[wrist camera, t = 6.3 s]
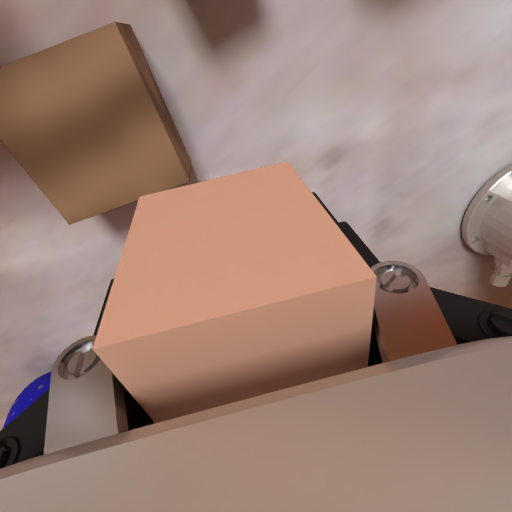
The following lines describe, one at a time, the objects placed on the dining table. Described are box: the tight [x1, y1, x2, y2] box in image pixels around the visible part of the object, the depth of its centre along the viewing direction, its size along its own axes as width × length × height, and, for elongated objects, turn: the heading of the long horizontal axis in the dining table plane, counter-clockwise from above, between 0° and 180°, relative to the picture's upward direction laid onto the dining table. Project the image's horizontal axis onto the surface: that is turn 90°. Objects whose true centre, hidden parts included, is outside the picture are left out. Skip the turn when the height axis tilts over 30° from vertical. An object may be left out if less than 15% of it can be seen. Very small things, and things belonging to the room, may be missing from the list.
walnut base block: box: [0, 22, 191, 225], centre depth 22 cm, size 10×10×5 cm
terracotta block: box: [93, 162, 377, 423], centre depth 9 cm, size 5×5×6 cm
